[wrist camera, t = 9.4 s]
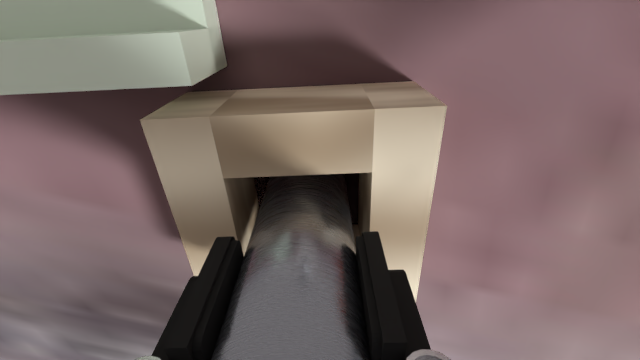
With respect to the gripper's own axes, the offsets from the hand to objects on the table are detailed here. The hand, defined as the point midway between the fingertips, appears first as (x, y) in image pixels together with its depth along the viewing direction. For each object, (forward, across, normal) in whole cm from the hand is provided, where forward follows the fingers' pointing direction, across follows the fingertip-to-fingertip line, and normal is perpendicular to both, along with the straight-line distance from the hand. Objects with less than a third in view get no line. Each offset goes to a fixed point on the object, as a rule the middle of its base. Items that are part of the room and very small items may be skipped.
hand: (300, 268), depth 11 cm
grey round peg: (+6, 0, 0) cm, 6 cm away
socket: (+6, 0, 0) cm, 6 cm away
